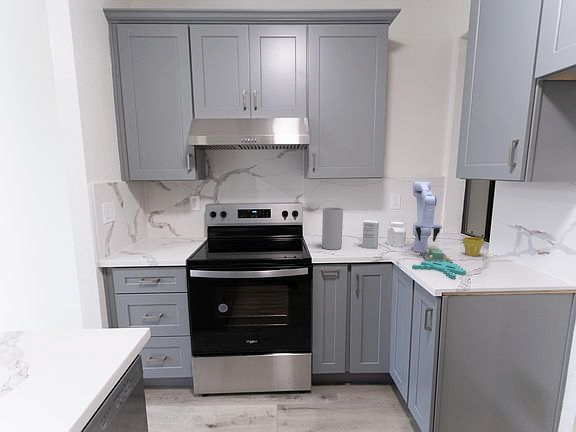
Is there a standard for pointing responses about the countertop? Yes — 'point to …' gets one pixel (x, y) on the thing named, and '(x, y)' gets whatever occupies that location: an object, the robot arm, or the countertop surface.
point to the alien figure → (441, 268)
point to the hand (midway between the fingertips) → (426, 240)
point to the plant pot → (472, 245)
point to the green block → (436, 253)
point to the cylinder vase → (332, 228)
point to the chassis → (429, 258)
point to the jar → (396, 234)
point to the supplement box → (370, 234)
